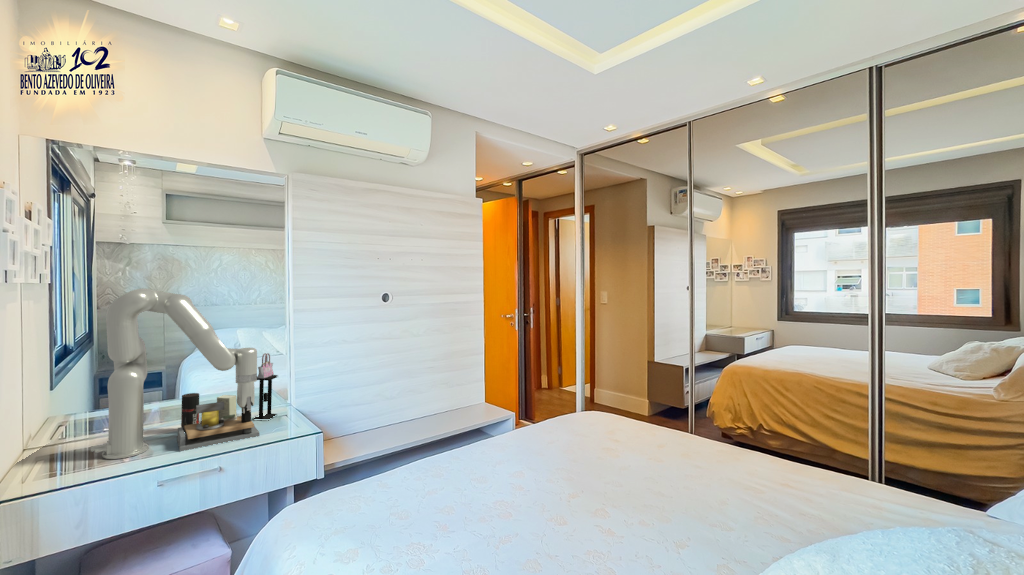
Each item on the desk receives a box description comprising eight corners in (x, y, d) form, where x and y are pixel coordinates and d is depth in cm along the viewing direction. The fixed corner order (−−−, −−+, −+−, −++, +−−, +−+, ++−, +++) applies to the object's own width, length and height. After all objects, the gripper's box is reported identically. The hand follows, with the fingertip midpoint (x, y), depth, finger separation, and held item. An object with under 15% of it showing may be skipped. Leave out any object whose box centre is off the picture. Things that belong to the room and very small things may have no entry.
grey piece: (180, 451, 160) (180, 438, 160) (176, 439, 170) (177, 427, 170) (259, 436, 177) (259, 424, 177) (252, 426, 188) (252, 414, 188)
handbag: (266, 421, 194) (268, 355, 193) (250, 421, 194) (251, 355, 193) (279, 414, 204) (281, 351, 203) (263, 413, 204) (265, 350, 203)
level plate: (187, 439, 161) (188, 412, 161) (184, 428, 172) (184, 403, 171) (254, 427, 176) (254, 402, 175) (246, 417, 186) (247, 394, 186)
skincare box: (236, 422, 192) (237, 395, 191) (229, 425, 187) (229, 398, 187) (223, 421, 192) (224, 394, 192) (215, 424, 188) (216, 397, 188)
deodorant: (191, 433, 177) (192, 397, 177) (177, 432, 177) (178, 396, 177) (202, 428, 183) (202, 393, 183) (188, 427, 183) (189, 392, 183)
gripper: (232, 375, 181) (232, 418, 181) (239, 383, 169) (239, 429, 170) (252, 373, 186) (252, 415, 186) (260, 380, 174) (260, 424, 175)
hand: (246, 421), depth 178 cm, fingers closed
